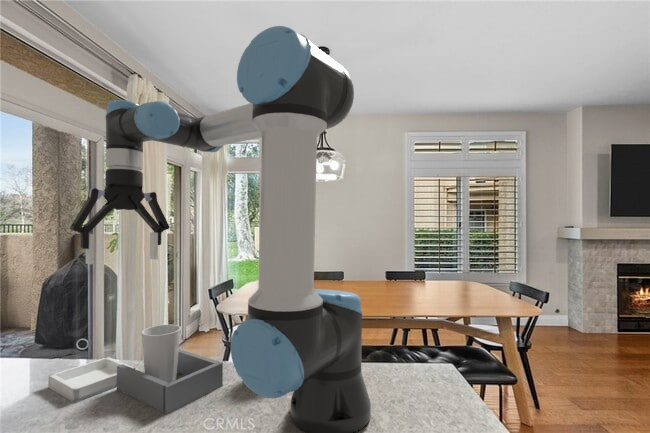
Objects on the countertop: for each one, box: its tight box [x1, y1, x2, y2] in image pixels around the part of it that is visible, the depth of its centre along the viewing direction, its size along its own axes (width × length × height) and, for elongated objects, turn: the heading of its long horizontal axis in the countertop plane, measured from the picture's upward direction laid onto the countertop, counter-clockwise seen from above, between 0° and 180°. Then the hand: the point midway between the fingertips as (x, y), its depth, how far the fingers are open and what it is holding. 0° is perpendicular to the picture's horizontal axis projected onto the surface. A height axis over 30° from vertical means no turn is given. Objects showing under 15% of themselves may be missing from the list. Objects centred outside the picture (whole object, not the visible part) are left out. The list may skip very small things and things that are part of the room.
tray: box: [47, 356, 137, 404], centre depth 78 cm, size 12×12×3 cm
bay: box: [116, 348, 224, 415], centre depth 76 cm, size 18×13×5 cm
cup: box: [141, 324, 182, 383], centre depth 78 cm, size 8×8×12 cm
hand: (123, 261), depth 81 cm, fingers open, 13 cm apart
